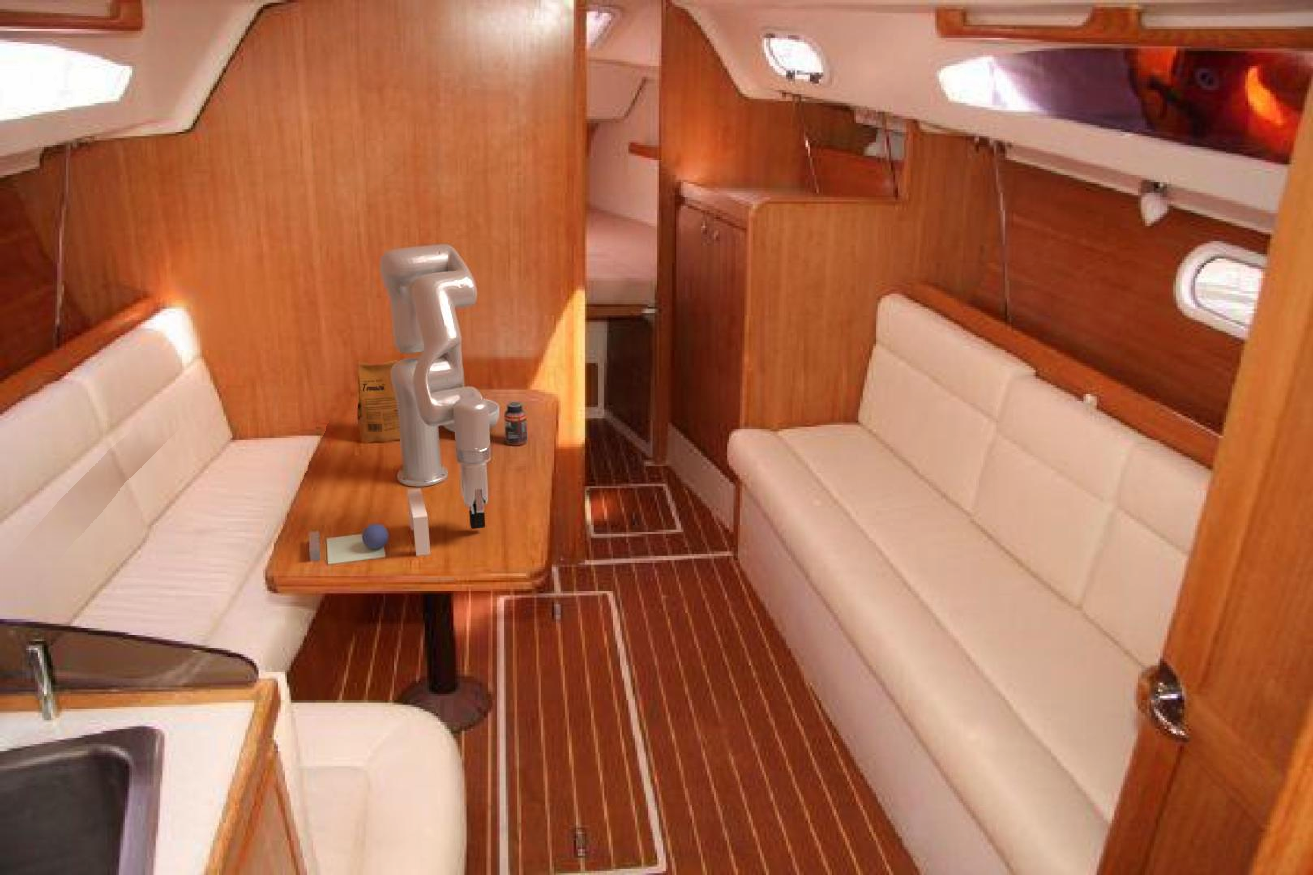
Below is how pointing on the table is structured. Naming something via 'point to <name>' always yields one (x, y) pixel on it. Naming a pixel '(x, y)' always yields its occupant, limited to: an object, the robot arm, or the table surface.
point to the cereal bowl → (493, 415)
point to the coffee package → (377, 403)
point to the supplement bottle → (515, 424)
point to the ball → (375, 536)
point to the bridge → (419, 521)
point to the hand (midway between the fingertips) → (477, 526)
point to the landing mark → (350, 550)
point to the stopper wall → (314, 546)
